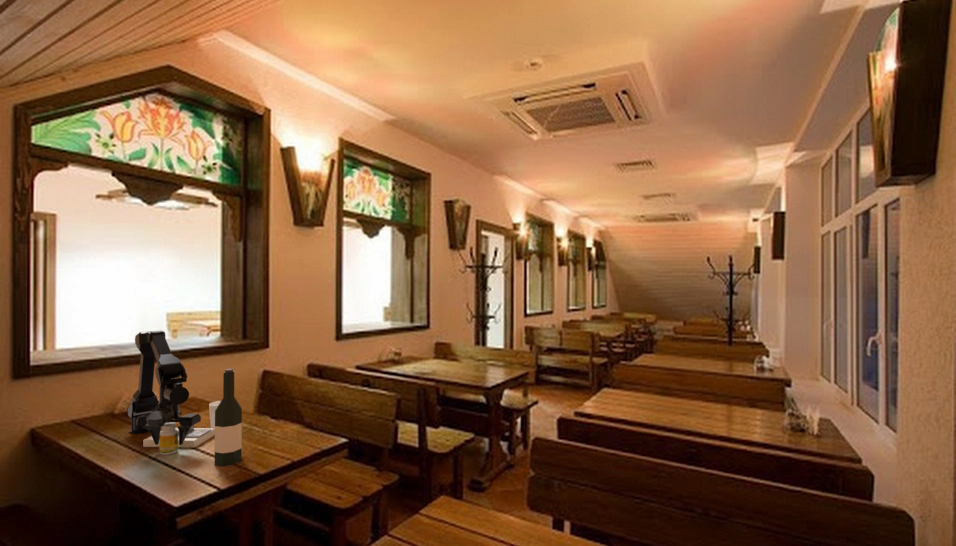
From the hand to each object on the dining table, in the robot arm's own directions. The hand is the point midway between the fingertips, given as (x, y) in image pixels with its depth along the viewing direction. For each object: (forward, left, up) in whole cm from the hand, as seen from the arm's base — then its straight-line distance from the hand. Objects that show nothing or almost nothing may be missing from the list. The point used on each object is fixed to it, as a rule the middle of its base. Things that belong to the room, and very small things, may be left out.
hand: (169, 444), depth 163 cm
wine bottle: (+24, -7, -3) cm, 25 cm away
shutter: (+2, +11, 0) cm, 11 cm away
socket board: (-3, +11, -3) cm, 12 cm away
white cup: (+4, +25, -3) cm, 25 cm away
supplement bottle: (0, 0, -3) cm, 3 cm away
